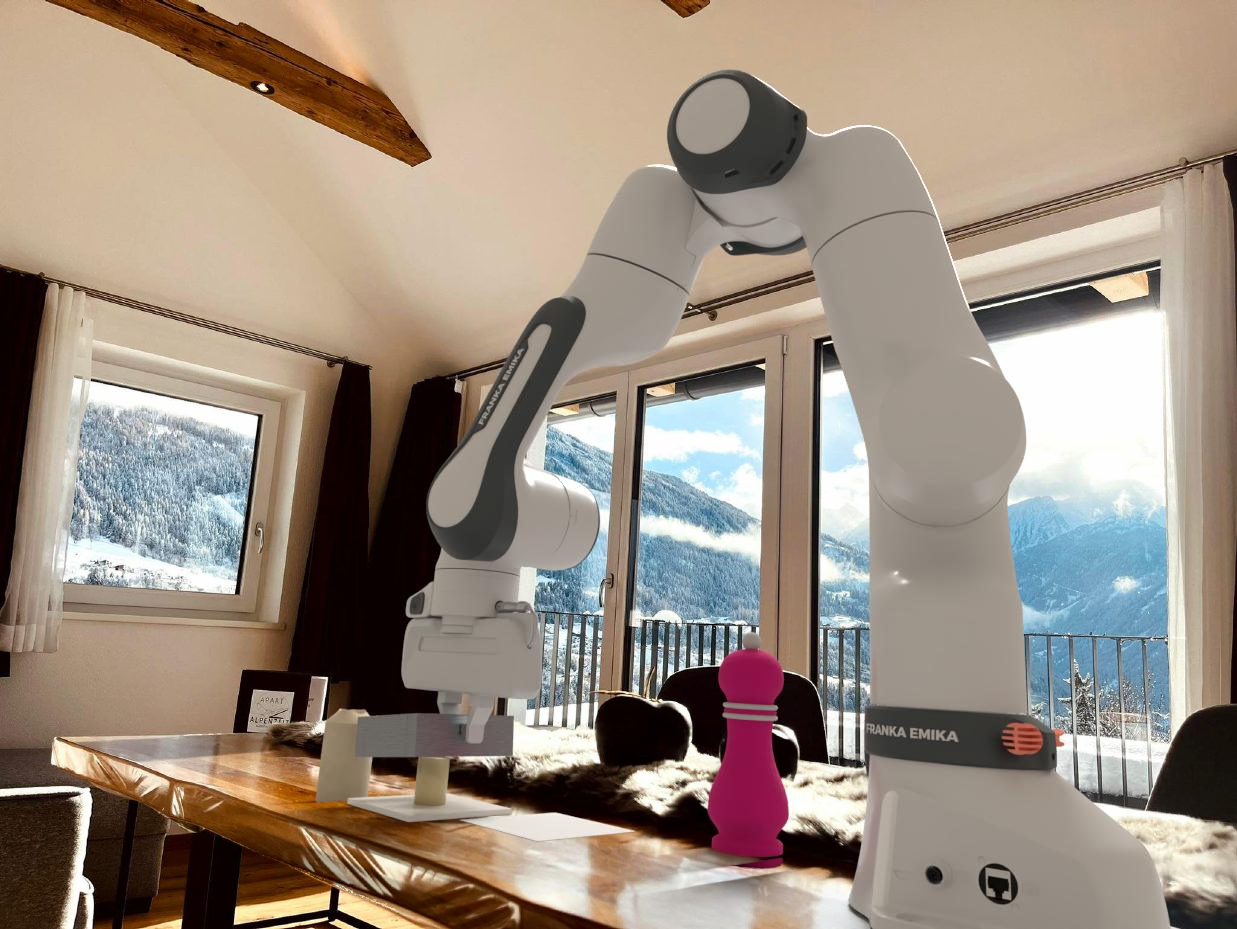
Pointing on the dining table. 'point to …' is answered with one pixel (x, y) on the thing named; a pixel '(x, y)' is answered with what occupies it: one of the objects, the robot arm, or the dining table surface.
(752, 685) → the pepper mill
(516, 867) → the dining table surface
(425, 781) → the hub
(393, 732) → the collar
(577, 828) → the mat
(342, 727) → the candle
